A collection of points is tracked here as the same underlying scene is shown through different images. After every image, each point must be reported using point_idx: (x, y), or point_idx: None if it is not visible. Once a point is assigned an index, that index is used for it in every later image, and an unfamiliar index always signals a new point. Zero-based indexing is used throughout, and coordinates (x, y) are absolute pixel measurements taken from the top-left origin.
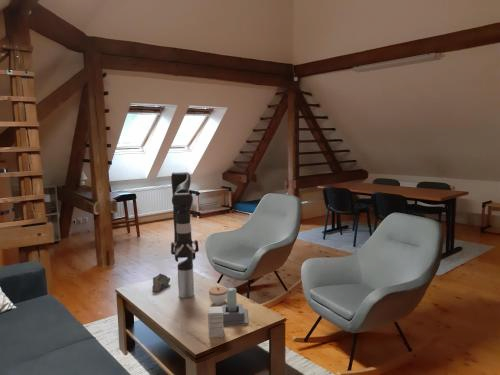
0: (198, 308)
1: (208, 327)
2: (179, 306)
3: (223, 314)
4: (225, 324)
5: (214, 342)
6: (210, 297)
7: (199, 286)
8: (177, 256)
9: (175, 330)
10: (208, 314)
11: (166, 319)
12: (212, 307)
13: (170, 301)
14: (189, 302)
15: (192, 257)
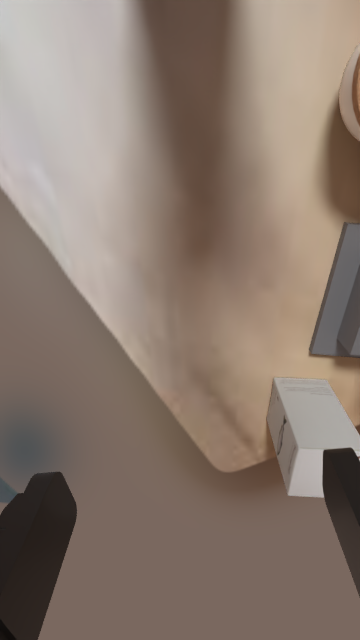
0: (250, 160)
1: (273, 443)
2: (143, 111)
3: (358, 354)
4: (345, 354)
5: None
6: (344, 113)
7: None
8: (33, 624)
9: (148, 355)
10: (288, 492)
11: (97, 260)
12: (318, 456)
13: (76, 10)
14: (201, 53)
15: (333, 472)
